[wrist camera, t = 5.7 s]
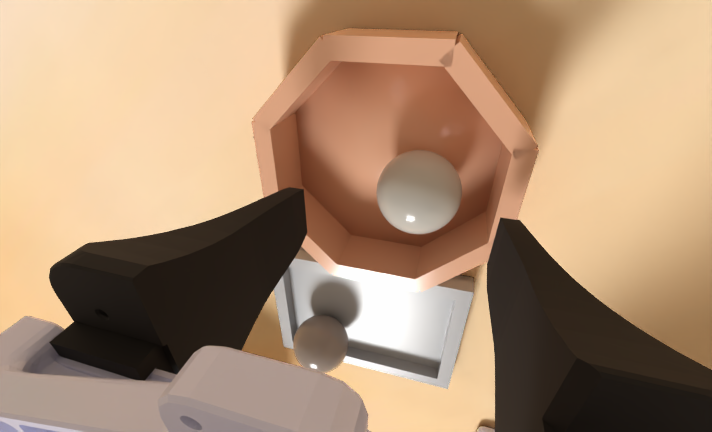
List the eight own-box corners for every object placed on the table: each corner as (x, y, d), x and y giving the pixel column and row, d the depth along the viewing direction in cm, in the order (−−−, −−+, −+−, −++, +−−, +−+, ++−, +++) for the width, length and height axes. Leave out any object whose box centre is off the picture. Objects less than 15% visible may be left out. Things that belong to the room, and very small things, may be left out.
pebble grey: (451, 136, 15) (484, 170, 12) (440, 205, 17) (466, 248, 14) (372, 138, 15) (386, 174, 12) (370, 208, 17) (381, 253, 14)
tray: (473, 277, 19) (473, 292, 18) (448, 373, 24) (447, 389, 23) (276, 241, 22) (267, 252, 21) (290, 334, 27) (283, 346, 26)
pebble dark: (355, 309, 22) (338, 356, 20) (355, 344, 24) (339, 391, 21) (304, 298, 23) (280, 341, 20) (308, 333, 25) (286, 377, 22)
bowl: (552, 34, 12) (572, 43, 10) (486, 265, 18) (489, 306, 16) (275, 25, 15) (236, 31, 12) (297, 232, 21) (274, 263, 18)
